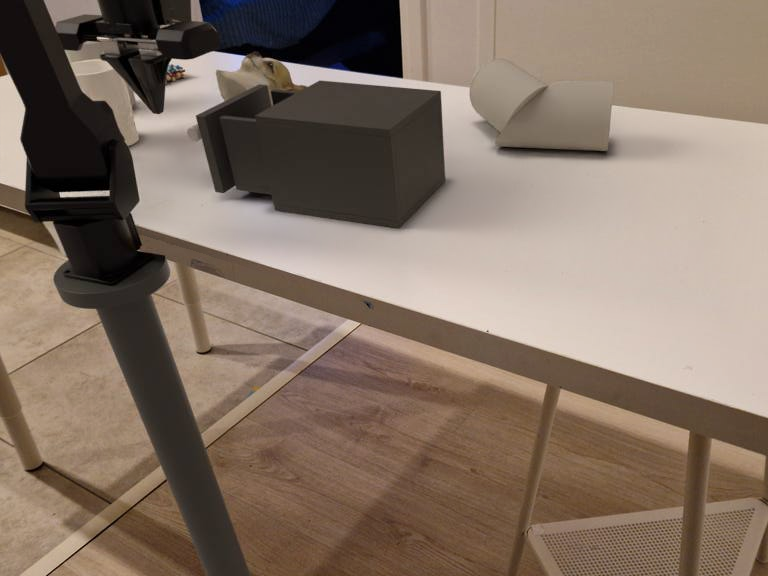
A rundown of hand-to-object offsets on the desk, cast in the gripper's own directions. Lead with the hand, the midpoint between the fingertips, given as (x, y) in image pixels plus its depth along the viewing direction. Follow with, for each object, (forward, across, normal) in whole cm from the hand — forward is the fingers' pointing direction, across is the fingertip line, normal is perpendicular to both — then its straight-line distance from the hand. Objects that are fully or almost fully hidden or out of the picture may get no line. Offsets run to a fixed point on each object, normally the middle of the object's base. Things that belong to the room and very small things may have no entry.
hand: (158, 113), depth 87 cm
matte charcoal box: (+7, -27, 0) cm, 28 cm away
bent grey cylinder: (+7, -41, -25) cm, 48 cm away
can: (+7, +26, -18) cm, 33 cm away
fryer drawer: (+6, -16, 0) cm, 17 cm away
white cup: (+7, +15, -6) cm, 18 cm away
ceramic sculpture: (+7, +2, -25) cm, 26 cm away
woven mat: (+7, +32, -33) cm, 47 cm away
